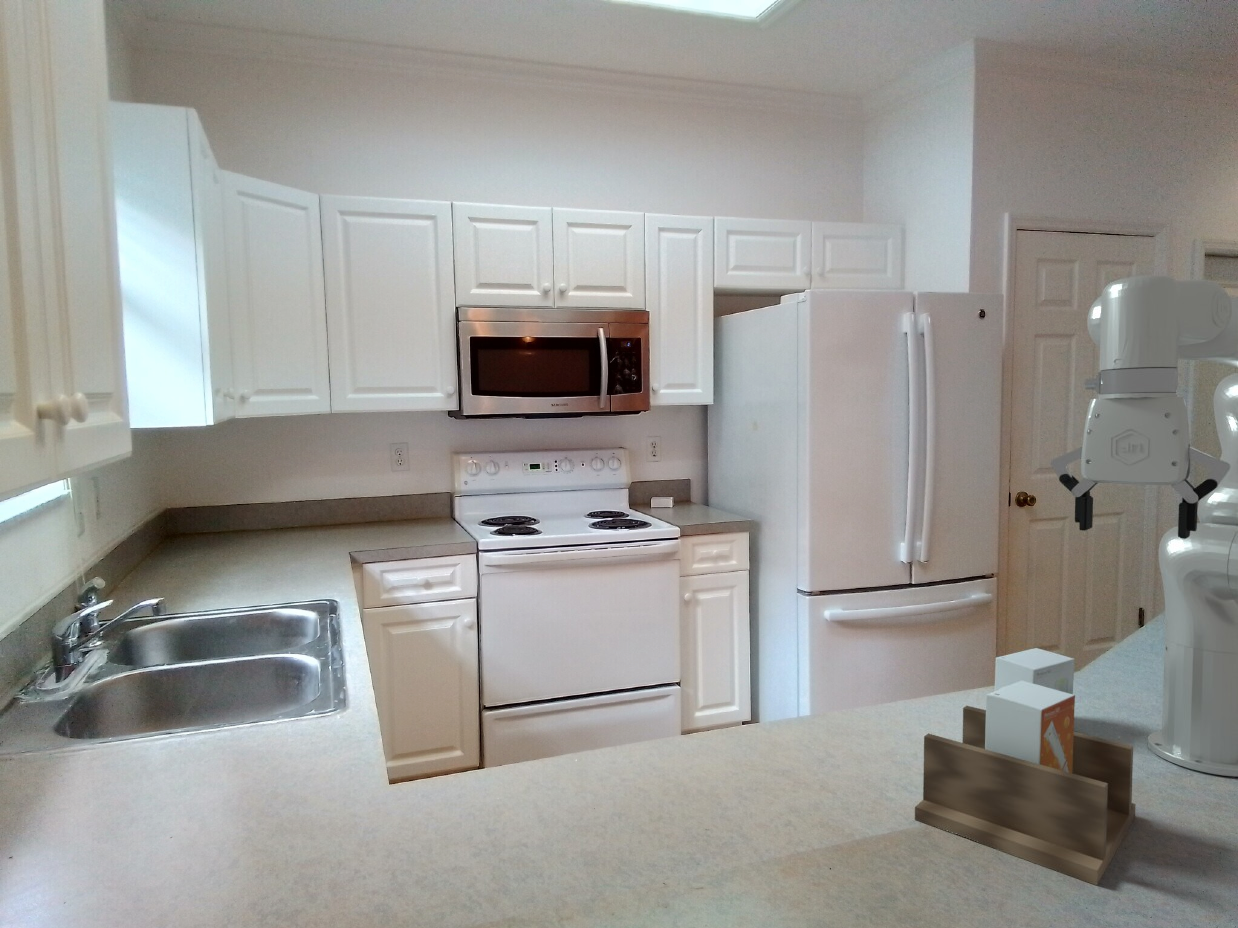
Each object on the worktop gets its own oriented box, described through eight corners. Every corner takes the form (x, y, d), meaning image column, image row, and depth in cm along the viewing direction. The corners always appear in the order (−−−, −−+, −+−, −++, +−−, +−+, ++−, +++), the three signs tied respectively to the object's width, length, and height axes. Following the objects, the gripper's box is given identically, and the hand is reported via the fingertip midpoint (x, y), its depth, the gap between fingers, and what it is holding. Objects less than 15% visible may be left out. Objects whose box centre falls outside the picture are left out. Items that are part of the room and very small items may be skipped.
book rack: (914, 819, 87) (915, 742, 86) (971, 768, 99) (973, 700, 99) (1096, 885, 74) (1099, 795, 74) (1135, 816, 87) (1137, 739, 86)
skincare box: (1033, 740, 108) (1034, 668, 108) (991, 725, 114) (992, 656, 113) (1074, 726, 113) (1076, 657, 113) (1032, 712, 119) (1034, 646, 118)
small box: (1039, 828, 82) (1042, 709, 81) (982, 804, 87) (984, 693, 86) (1073, 805, 86) (1076, 693, 86) (1017, 784, 92) (1019, 678, 91)
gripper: (1044, 388, 91) (1041, 529, 92) (1228, 381, 79) (1223, 544, 80) (1062, 390, 96) (1059, 523, 97) (1236, 384, 84) (1231, 537, 85)
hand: (1133, 533), depth 88 cm, fingers open, 9 cm apart
